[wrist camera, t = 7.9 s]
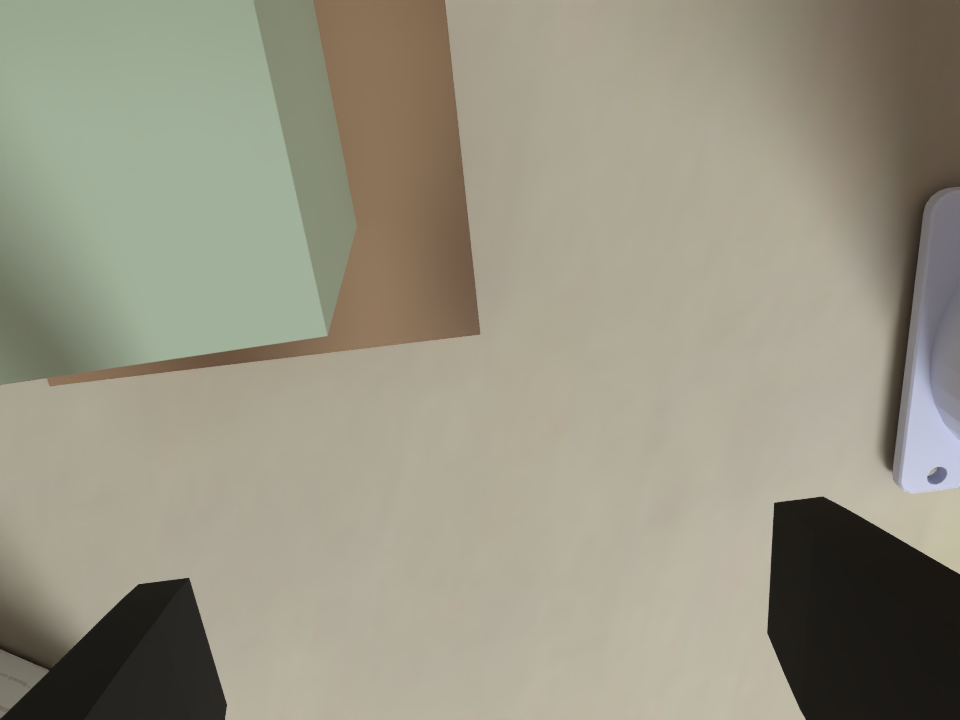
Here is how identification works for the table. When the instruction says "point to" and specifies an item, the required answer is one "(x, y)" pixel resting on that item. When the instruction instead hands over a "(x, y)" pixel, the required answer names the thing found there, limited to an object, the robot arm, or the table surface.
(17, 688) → the small box
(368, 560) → the table surface
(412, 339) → the plinth
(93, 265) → the block
